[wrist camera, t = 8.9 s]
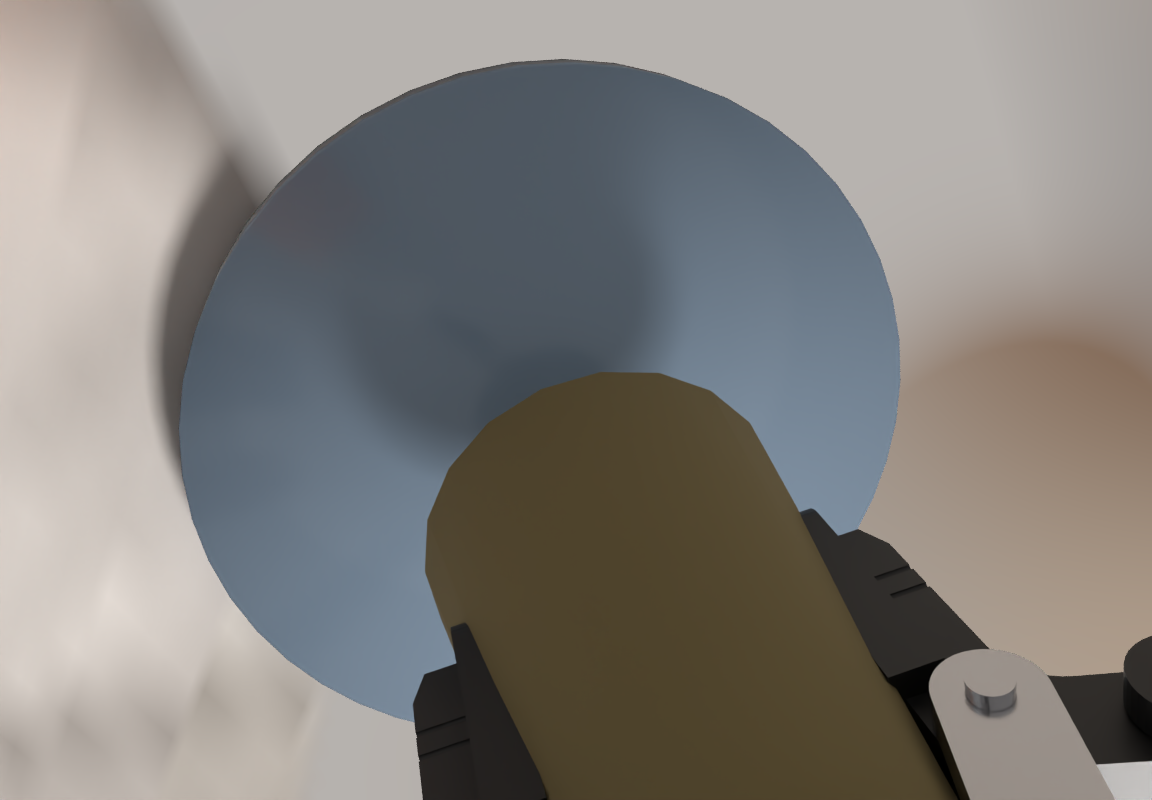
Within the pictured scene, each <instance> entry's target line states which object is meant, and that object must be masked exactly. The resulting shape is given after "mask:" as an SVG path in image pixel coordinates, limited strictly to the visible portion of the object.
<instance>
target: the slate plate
mask: <svg viewBox="0 0 1152 800" xmlns="http://www.w3.org/2000/svg"><path fill="white" fill-rule="evenodd" d="M899 352H900V351H899V335H898V329H897V323H896V317H895V311H894V305H893V299H892V295H891V292H890V289H889V286H888V283H887V280H886V276H885V273H884V270H883V267H882V264H881V260H880V258H879V256H878V254H877V252H876V250H875V248H874V245H873V243H872V241H871V239H870V237H869V235H868V233H867V231H866V229H865V227H864V225H863V223H862V221H861V219H860V218H859V217H858V215H857V213H856V212H855V210H854V209H853V207H852V206H851V204H850V203H849V202H848V200H847V199H846V197H845V196H844V194H843V193H842V191H841V190H840V188H839V187H838V185H837V184H836V183H835V182H834V181H833V180H832V179H831V178H830V177H829V175H827V173H826V172H825V171H824V170H823V169H822V168H821V167H820V166H819V165H818V164H817V163H816V162H815V161H814V159H813V158H812V157H811V156H810V155H809V154H808V153H807V152H806V151H805V150H804V149H803V148H801V147H800V146H799V145H797V144H796V143H795V142H794V141H792V140H791V139H790V138H788V137H787V136H786V135H785V134H783V133H782V132H781V131H780V130H778V129H777V128H776V127H774V126H773V125H772V124H771V123H770V122H768V121H766V120H764V119H763V118H761V117H759V116H757V115H755V114H754V113H752V112H750V111H749V110H747V109H745V108H743V107H742V106H740V105H738V104H736V103H735V102H733V101H731V100H729V99H727V98H725V97H722V96H720V95H717V94H715V93H712V92H709V91H707V90H704V89H702V88H699V87H697V86H694V85H691V84H688V83H686V82H683V81H681V80H678V79H675V78H672V77H670V76H667V75H664V74H660V73H656V72H652V71H647V70H643V69H638V68H634V67H629V66H625V65H620V64H616V63H607V62H606V63H605V62H594V61H580V60H568V59H558V60H543V61H526V62H511V63H506V64H501V65H496V66H491V67H486V68H482V69H477V70H472V71H467V72H462V73H458V74H455V75H452V76H450V77H447V78H444V79H441V80H438V81H436V82H433V83H430V84H427V85H424V86H421V87H419V88H416V89H413V90H410V91H408V92H406V93H404V94H402V95H400V96H398V97H396V98H394V99H392V100H390V101H388V102H387V103H385V104H383V105H381V106H379V107H377V108H375V109H373V110H371V111H369V112H367V113H365V114H363V115H361V116H360V117H359V118H357V119H356V120H354V121H353V122H351V123H350V124H348V125H347V126H346V127H345V128H343V129H341V130H340V131H339V132H337V133H336V134H335V135H333V136H331V137H330V138H329V139H327V140H326V141H324V142H323V143H322V144H320V145H319V146H317V147H316V148H315V149H314V150H313V151H312V152H311V153H310V154H309V155H308V156H307V157H306V158H305V159H304V160H302V161H301V162H300V163H299V164H298V165H297V166H296V167H295V168H294V169H293V170H292V171H291V172H290V173H288V174H287V175H286V176H285V177H284V178H283V179H282V180H281V181H280V182H279V183H278V184H277V185H276V187H275V188H274V189H273V190H272V192H271V193H270V194H269V195H268V197H267V198H266V199H265V200H264V202H263V203H262V204H261V205H260V207H259V208H258V209H257V210H256V212H255V213H254V214H253V215H252V217H251V218H250V219H249V220H248V222H247V223H246V224H245V226H244V228H243V229H242V231H241V233H240V234H239V236H238V238H237V239H236V241H235V243H234V245H233V246H232V248H231V250H230V251H229V253H228V255H227V256H226V258H225V260H224V262H223V263H222V265H221V267H220V269H219V271H218V274H217V276H216V279H215V281H214V284H213V286H212V288H211V291H210V293H209V296H208V298H207V301H206V303H205V306H204V308H203V311H202V313H201V316H200V319H199V321H198V324H197V327H196V330H195V333H194V337H193V341H192V345H191V349H190V354H189V358H188V362H187V366H186V370H185V374H184V378H183V386H182V398H181V410H180V422H179V437H180V452H181V466H182V477H183V481H184V486H185V490H186V494H187V499H188V503H189V507H190V512H191V516H192V520H193V523H194V525H195V528H196V530H197V533H198V535H199V538H200V540H201V543H202V545H203V548H204V550H205V553H206V555H207V558H208V560H209V562H210V564H211V566H212V567H213V569H214V571H215V573H216V574H217V576H218V578H219V579H220V581H221V583H222V584H223V586H224V588H225V590H226V591H227V593H228V595H229V596H230V598H231V599H232V601H233V602H234V603H235V604H236V606H237V607H238V608H239V609H240V611H241V612H242V613H243V614H244V616H245V617H246V618H247V619H248V621H249V622H250V623H251V624H252V626H253V627H254V628H255V629H256V630H257V632H258V633H260V634H261V635H262V636H263V637H264V638H265V639H266V640H267V641H268V642H269V643H270V644H271V645H272V646H273V647H274V648H276V649H277V650H278V651H279V652H280V653H281V654H282V655H283V656H284V657H285V658H286V659H287V660H289V661H290V662H291V663H293V664H294V665H296V666H297V667H298V668H300V669H301V670H303V671H304V672H306V673H307V674H308V675H310V676H311V677H313V678H314V679H315V680H317V681H318V682H320V683H321V684H323V685H325V686H327V687H328V688H330V689H332V690H334V691H336V692H338V693H340V694H342V695H344V696H345V697H347V698H349V699H351V700H353V701H355V702H357V703H359V704H362V705H364V706H367V707H369V708H372V709H375V710H377V711H380V712H383V713H385V714H388V715H391V716H393V717H396V718H400V719H404V720H407V721H412V722H415V721H414V712H413V702H414V699H415V697H416V694H417V692H418V689H419V686H420V684H421V681H422V679H423V676H424V674H426V673H429V672H432V671H435V670H438V669H441V668H444V667H447V666H450V665H453V664H456V659H455V653H454V650H453V648H452V645H451V643H450V640H449V638H448V635H447V633H446V630H445V628H444V625H443V623H442V620H441V618H440V615H439V612H438V609H437V606H436V603H435V600H434V597H433V594H432V591H431V588H430V585H429V582H428V579H427V577H426V574H425V557H426V536H427V519H428V517H429V514H430V512H431V510H432V507H433V505H434V503H435V500H436V498H437V495H438V493H439V491H440V488H441V486H442V483H443V481H444V479H445V476H446V474H447V472H448V469H449V467H450V466H451V465H452V464H453V463H454V462H455V460H456V459H457V458H458V457H459V456H460V455H461V454H462V452H463V451H464V450H465V449H466V448H467V447H468V445H469V444H470V443H471V442H472V441H473V440H474V438H475V437H476V436H477V435H478V434H479V433H480V432H481V430H482V429H483V428H484V427H485V426H486V425H487V423H488V422H490V421H492V420H493V419H495V418H496V417H498V416H499V415H501V414H503V413H504V412H506V411H507V410H509V409H510V408H512V407H514V406H515V405H517V404H518V403H520V402H521V401H523V400H525V399H526V398H528V397H529V396H531V395H532V394H534V393H536V392H537V391H539V390H540V389H543V388H547V387H550V386H554V385H557V384H560V383H564V382H567V381H571V380H574V379H578V378H581V377H585V376H588V375H591V374H595V373H598V372H639V373H661V374H664V375H667V376H670V377H673V378H676V379H679V380H681V381H684V382H687V383H690V384H693V385H696V386H699V387H702V388H705V389H707V390H710V391H712V392H713V393H714V394H715V395H717V396H718V397H719V398H720V399H722V400H723V401H724V402H725V403H726V404H728V405H729V406H730V407H731V408H733V409H734V410H735V411H736V412H737V413H739V414H740V415H741V416H742V417H744V418H745V419H746V420H747V421H748V422H750V424H751V426H752V427H753V429H754V431H755V433H756V434H757V436H758V438H759V440H760V442H761V443H762V445H763V447H764V449H765V451H766V452H767V454H768V456H769V458H770V459H771V461H772V463H773V465H774V467H775V468H776V470H777V472H778V474H779V476H780V478H781V479H782V481H783V483H784V485H785V487H786V488H787V490H788V492H789V494H790V496H791V497H792V499H793V501H794V503H795V505H796V507H797V508H798V510H799V512H801V511H804V510H807V509H810V508H812V509H814V510H816V511H817V512H818V513H819V515H820V516H821V517H822V518H823V519H824V520H825V521H826V523H827V524H828V525H829V526H830V527H831V528H832V529H833V531H834V532H835V533H836V534H837V535H838V536H839V535H842V534H845V533H848V532H851V531H854V530H857V529H858V527H859V525H860V523H861V521H862V519H863V517H864V515H865V513H866V511H867V509H868V507H869V505H870V503H871V501H872V499H873V497H874V494H875V491H876V488H877V486H878V483H879V480H880V477H881V475H882V472H883V469H884V466H885V464H886V461H887V457H888V453H889V449H890V444H891V440H892V436H893V431H894V427H895V423H896V416H897V407H898V397H899V388H900V353H899Z"/></svg>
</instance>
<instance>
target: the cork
mask: <svg viewBox="0 0 1152 800" xmlns="http://www.w3.org/2000/svg"><path fill="white" fill-rule="evenodd" d="M425 574H426V577H427V579H428V582H429V585H430V588H431V591H432V594H433V597H434V600H435V603H436V606H437V609H438V612H439V615H440V618H441V620H442V623H443V625H444V628H445V630H446V633H447V635H448V638H449V640H450V643H451V645H452V648H453V650H454V647H453V642H452V636H451V627H452V626H455V625H458V624H461V623H466V624H467V625H468V626H469V628H470V630H471V632H472V635H473V637H474V639H475V641H476V643H477V646H478V648H479V650H480V652H481V654H482V657H483V659H484V661H485V663H486V665H487V668H488V670H489V672H490V674H491V676H492V679H493V681H494V683H495V685H496V687H497V689H498V691H499V693H500V695H501V697H502V699H503V701H504V703H505V705H506V707H507V709H508V711H509V713H510V715H511V717H512V719H513V721H514V723H515V725H516V727H517V729H518V731H519V733H520V735H521V737H522V739H523V741H524V743H525V745H526V747H527V749H528V751H529V753H530V755H531V757H532V759H533V761H534V763H535V765H536V767H537V769H538V771H539V773H540V776H541V780H542V783H543V787H544V791H545V794H546V798H547V800H958V799H957V797H956V795H955V793H954V791H953V790H952V788H951V786H950V784H949V782H948V780H947V779H946V777H945V775H944V773H943V771H942V770H941V768H940V766H939V764H938V762H937V761H936V759H935V757H934V755H933V753H932V752H931V750H930V748H929V746H928V744H927V743H926V741H925V739H924V737H923V735H922V734H921V732H920V730H919V728H918V726H917V724H916V723H915V721H914V719H913V717H912V715H911V714H910V712H909V710H908V708H907V706H906V705H905V703H904V701H903V699H902V698H901V696H900V694H899V692H898V690H897V689H896V688H895V687H893V686H892V685H891V684H889V683H888V681H887V680H886V678H885V677H884V675H883V673H882V672H881V670H880V669H879V667H878V666H877V664H876V662H875V661H874V659H873V658H872V656H871V654H870V652H869V650H868V648H867V646H866V644H865V642H864V640H863V638H862V636H861V634H860V632H859V630H858V628H857V626H856V624H855V622H854V620H853V618H852V616H851V614H850V612H849V610H848V608H847V606H846V605H845V603H844V601H843V599H842V597H841V595H840V593H839V591H838V589H837V587H836V585H835V583H834V581H833V579H832V577H831V575H830V573H829V571H828V569H827V567H826V565H825V563H824V561H823V559H822V557H821V555H820V553H819V551H818V549H817V547H816V545H815V543H814V541H813V539H812V537H811V535H810V533H809V531H808V529H807V527H806V525H805V523H804V521H803V519H802V517H801V514H800V513H799V510H798V508H797V507H796V505H795V503H794V501H793V499H792V497H791V496H790V494H789V492H788V490H787V488H786V487H785V485H784V483H783V481H782V479H781V478H780V476H779V474H778V472H777V470H776V468H775V467H774V465H773V463H772V461H771V459H770V458H769V456H768V454H767V452H766V451H765V449H764V447H763V445H762V443H761V442H760V440H759V438H758V436H757V434H756V433H755V431H754V429H753V427H752V426H751V424H750V422H748V421H747V420H746V419H745V418H744V417H742V416H741V415H740V414H739V413H737V412H736V411H735V410H734V409H733V408H731V407H730V406H729V405H728V404H726V403H725V402H724V401H723V400H722V399H720V398H719V397H718V396H717V395H715V394H714V393H713V392H712V391H710V390H707V389H705V388H702V387H699V386H696V385H693V384H690V383H687V382H684V381H681V380H679V379H676V378H673V377H670V376H667V375H664V374H661V373H639V372H598V373H595V374H591V375H588V376H585V377H581V378H578V379H574V380H571V381H567V382H564V383H560V384H557V385H554V386H550V387H547V388H543V389H540V390H539V391H537V392H536V393H534V394H532V395H531V396H529V397H528V398H526V399H525V400H523V401H521V402H520V403H518V404H517V405H515V406H514V407H512V408H510V409H509V410H507V411H506V412H504V413H503V414H501V415H499V416H498V417H496V418H495V419H493V420H492V421H490V422H488V423H487V425H486V426H485V427H484V428H483V429H482V430H481V432H480V433H479V434H478V435H477V436H476V437H475V438H474V440H473V441H472V442H471V443H470V444H469V445H468V447H467V448H466V449H465V450H464V451H463V452H462V454H461V455H460V456H459V457H458V458H457V459H456V460H455V462H454V463H453V464H452V465H451V466H450V467H449V469H448V472H447V474H446V476H445V479H444V481H443V483H442V486H441V488H440V491H439V493H438V495H437V498H436V500H435V503H434V505H433V507H432V510H431V512H430V514H429V517H428V519H427V536H426V557H425Z"/></svg>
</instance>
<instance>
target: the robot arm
mask: <svg viewBox="0 0 1152 800" xmlns="http://www.w3.org/2000/svg"><path fill="white" fill-rule="evenodd" d="M799 513H800V514H801V517H802V519H803V521H804V523H805V525H806V527H807V529H808V531H809V533H810V535H811V537H812V539H813V541H814V543H815V545H816V547H817V549H818V551H819V553H820V555H821V557H822V559H823V561H824V563H825V565H826V567H827V569H828V571H829V573H830V575H831V577H832V579H833V581H834V583H835V585H836V587H837V589H838V591H839V593H840V595H841V597H842V599H843V601H844V603H845V605H846V606H847V608H848V610H849V612H850V614H851V616H852V618H853V620H854V622H855V624H856V626H857V628H858V630H859V632H860V634H861V636H862V638H863V640H864V642H865V644H866V646H867V648H868V650H869V652H870V654H871V656H872V658H873V659H874V661H875V662H876V664H877V666H878V667H879V669H880V670H881V672H882V673H883V675H884V677H885V678H886V680H887V681H888V683H889V684H891V685H892V686H893V687H895V688H896V689H897V690H898V692H899V694H900V696H901V698H902V699H903V701H904V703H905V705H906V706H907V708H908V710H909V712H910V714H911V715H912V717H913V719H914V721H915V723H916V724H917V726H918V728H919V730H920V732H921V734H922V735H923V737H924V739H925V741H926V743H927V744H928V746H929V748H930V750H931V752H932V753H933V755H934V757H935V759H936V761H937V762H938V764H939V766H940V768H941V770H942V771H943V773H944V775H945V777H946V779H947V780H948V782H949V784H950V786H951V788H952V790H953V791H954V793H955V795H956V797H957V799H958V800H1152V636H1150V637H1148V638H1145V639H1143V640H1141V641H1139V642H1138V643H1137V644H1135V645H1134V646H1133V647H1132V648H1131V649H1130V650H1129V651H1128V653H1127V655H1126V656H1125V661H1124V672H1121V673H1108V674H1096V675H1083V676H1068V677H1067V676H1064V677H1061V676H1049V675H1046V674H1045V673H1044V672H1043V670H1042V669H1040V668H1039V667H1038V666H1037V665H1035V664H1034V663H1033V662H1031V661H1029V660H1027V659H1025V658H1024V657H1021V656H1019V655H1016V654H1013V653H1009V652H1005V651H1000V650H993V649H989V648H988V647H987V646H986V645H985V644H984V643H983V642H982V641H981V640H980V639H979V638H978V636H976V635H975V633H974V632H973V631H972V630H971V629H970V628H969V627H968V626H967V625H966V624H965V623H964V622H963V621H962V620H961V619H960V618H959V617H958V616H957V614H955V612H954V611H952V609H951V608H950V607H949V606H948V605H947V604H946V603H945V602H944V601H943V600H942V599H941V598H940V597H939V596H938V595H937V593H936V592H935V591H934V590H933V589H932V588H931V587H927V585H926V582H925V581H924V580H923V579H922V578H921V577H920V576H919V575H918V574H917V572H915V570H914V569H910V567H909V564H908V563H907V562H906V561H905V560H904V559H903V558H902V557H901V556H900V555H899V554H898V553H897V551H896V550H895V549H894V548H893V547H892V546H891V545H890V544H889V543H887V542H884V541H883V540H880V539H878V538H876V537H874V536H872V535H869V534H867V533H865V532H863V531H861V530H859V529H857V530H854V531H851V532H848V533H845V534H842V535H839V536H838V535H837V534H836V533H835V532H834V531H833V529H832V528H831V527H830V526H829V525H828V524H827V523H826V521H825V520H824V519H823V518H822V517H821V516H820V515H819V513H818V512H817V511H816V510H814V509H812V508H810V509H807V510H804V511H801V512H799ZM451 636H452V642H453V647H454V653H455V659H456V664H453V665H450V666H447V667H444V668H441V669H438V670H435V671H432V672H429V673H426V674H424V676H423V679H422V681H421V684H420V686H419V689H418V692H417V694H416V697H415V699H414V702H413V712H414V721H415V730H416V735H417V738H416V740H417V749H418V756H419V760H420V762H419V767H420V776H421V786H422V794H423V800H547V798H546V794H545V791H544V787H543V783H542V780H541V776H540V773H539V771H538V769H537V767H536V765H535V763H534V761H533V759H532V757H531V755H530V753H529V751H528V749H527V747H526V745H525V743H524V741H523V739H522V737H521V735H520V733H519V731H518V729H517V727H516V725H515V723H514V721H513V719H512V717H511V715H510V713H509V711H508V709H507V707H506V705H505V703H504V701H503V699H502V697H501V695H500V693H499V691H498V689H497V687H496V685H495V683H494V681H493V679H492V676H491V674H490V672H489V670H488V668H487V665H486V663H485V661H484V659H483V657H482V654H481V652H480V650H479V648H478V646H477V643H476V641H475V639H474V637H473V635H472V632H471V630H470V628H469V626H468V625H467V624H466V623H461V624H458V625H455V626H452V627H451Z"/></svg>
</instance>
